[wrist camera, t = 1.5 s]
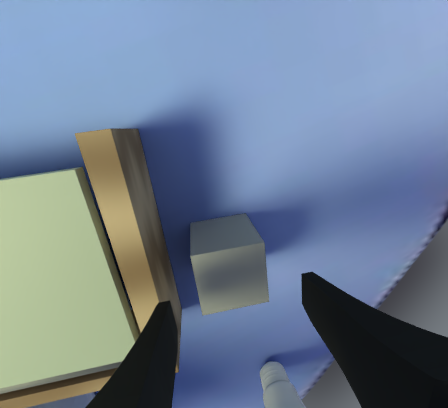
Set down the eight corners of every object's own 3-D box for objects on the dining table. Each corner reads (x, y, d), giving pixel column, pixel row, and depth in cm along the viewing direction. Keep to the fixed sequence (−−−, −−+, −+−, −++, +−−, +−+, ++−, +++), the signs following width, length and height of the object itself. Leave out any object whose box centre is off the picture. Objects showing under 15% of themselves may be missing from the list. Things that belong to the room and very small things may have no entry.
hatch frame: (181, 309, 20) (178, 372, 15) (-29, 353, 19) (-114, 440, 13) (137, 128, 15) (110, 128, 10) (-156, 168, 14) (-370, 192, 8)
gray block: (250, 260, 20) (269, 301, 15) (199, 269, 19) (202, 315, 15) (245, 212, 18) (264, 242, 13) (190, 222, 18) (190, 256, 13)
